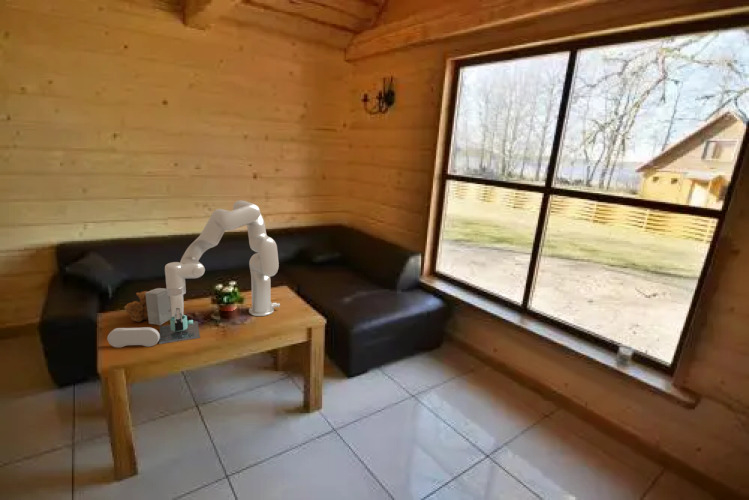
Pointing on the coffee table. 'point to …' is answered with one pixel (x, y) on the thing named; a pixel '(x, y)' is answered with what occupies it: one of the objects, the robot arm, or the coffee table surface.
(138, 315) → the stuffed squirrel
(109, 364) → the coffee table surface
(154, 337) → the game controller
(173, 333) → the grey plate with knob
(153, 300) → the skincare box
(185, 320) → the teal cup
